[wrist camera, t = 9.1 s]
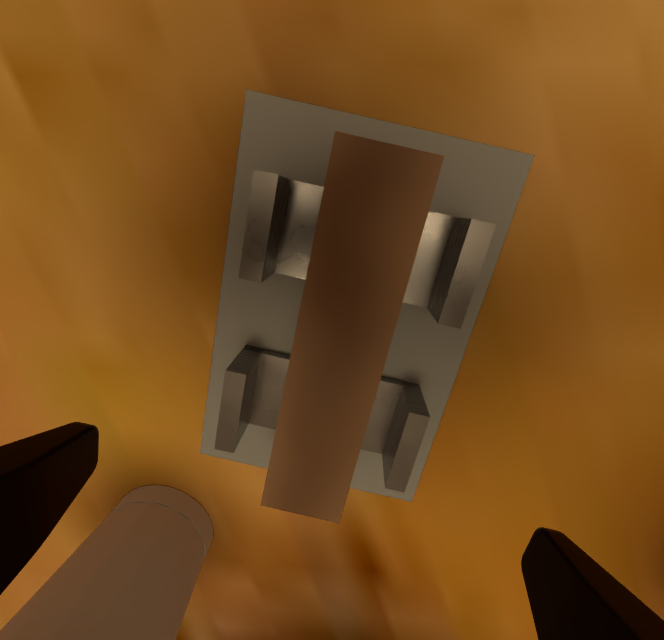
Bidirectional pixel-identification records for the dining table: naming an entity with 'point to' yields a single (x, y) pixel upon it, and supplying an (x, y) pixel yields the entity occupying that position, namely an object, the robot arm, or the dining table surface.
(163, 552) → the cup
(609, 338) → the dining table surface
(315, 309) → the rail
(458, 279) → the bracket near
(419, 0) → the dining table surface
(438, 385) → the board
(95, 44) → the dining table surface
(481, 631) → the dining table surface
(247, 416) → the bracket far
